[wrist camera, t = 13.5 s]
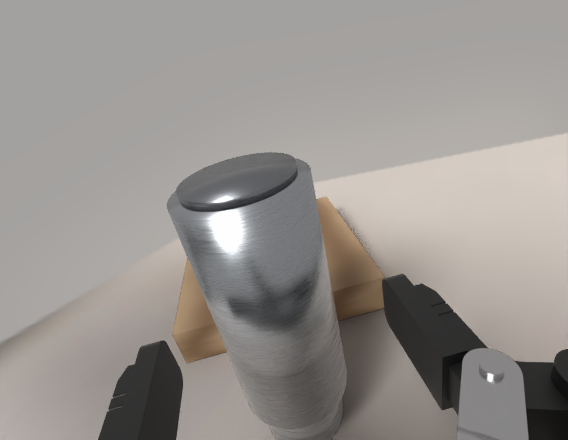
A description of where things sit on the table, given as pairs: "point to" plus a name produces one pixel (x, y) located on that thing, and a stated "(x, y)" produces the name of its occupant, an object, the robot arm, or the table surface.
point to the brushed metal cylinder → (267, 287)
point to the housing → (343, 274)
